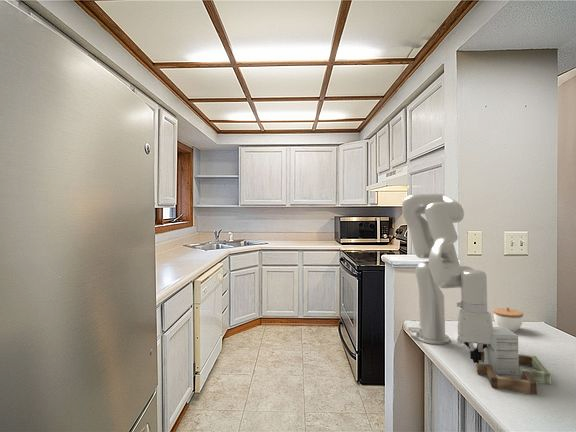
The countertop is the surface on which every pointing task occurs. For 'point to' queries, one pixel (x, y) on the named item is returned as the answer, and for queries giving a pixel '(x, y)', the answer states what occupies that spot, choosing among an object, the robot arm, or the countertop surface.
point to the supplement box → (503, 351)
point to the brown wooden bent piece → (512, 382)
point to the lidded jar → (508, 318)
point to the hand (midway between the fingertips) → (475, 361)
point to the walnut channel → (538, 374)
